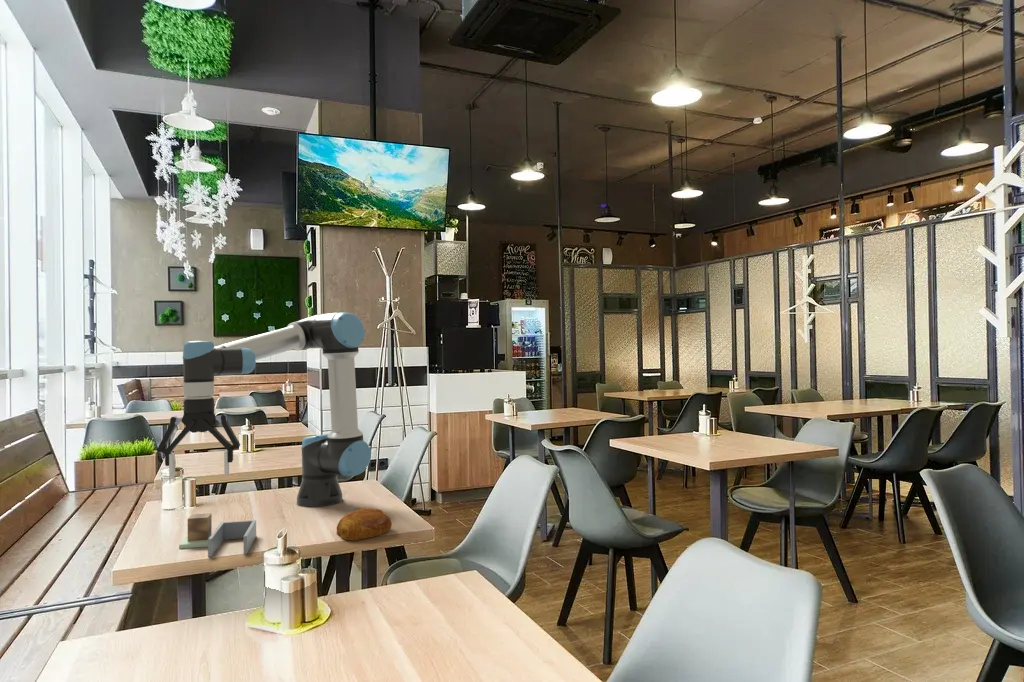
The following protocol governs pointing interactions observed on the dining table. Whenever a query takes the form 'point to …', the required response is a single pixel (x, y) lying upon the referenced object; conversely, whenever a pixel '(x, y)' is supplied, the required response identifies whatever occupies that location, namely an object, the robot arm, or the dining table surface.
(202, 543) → the coaster
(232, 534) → the u-shaped bracket
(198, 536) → the block
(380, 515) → the brown oval lump
